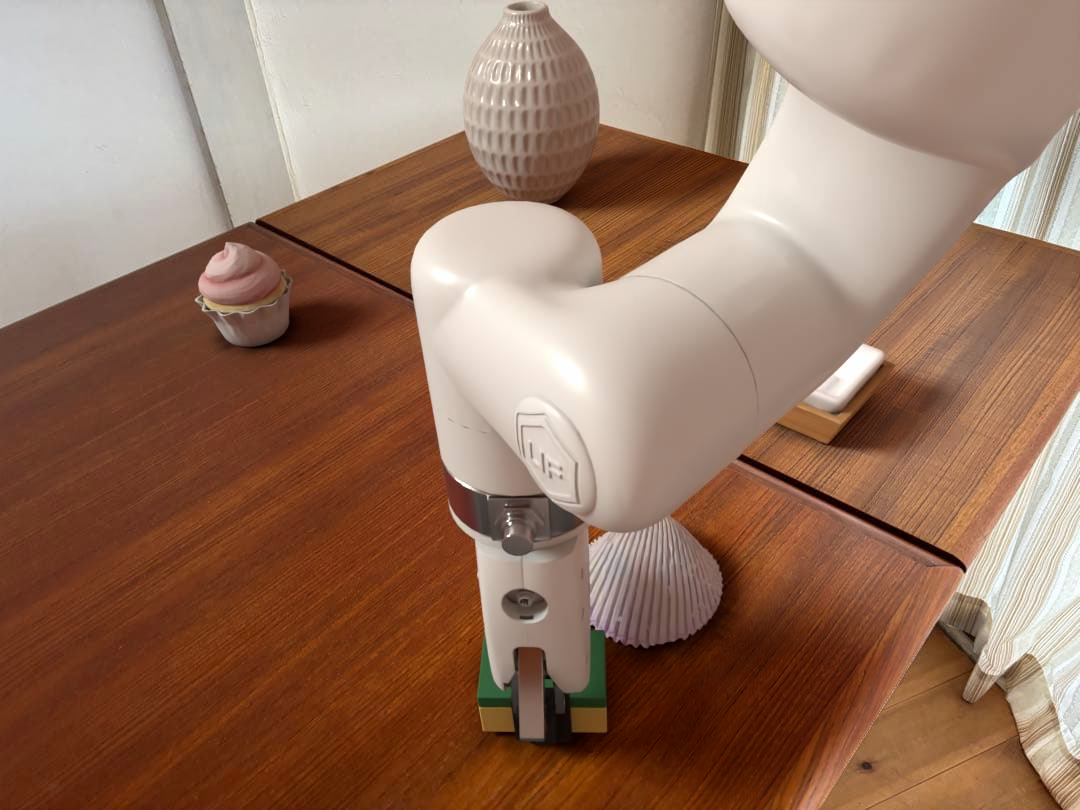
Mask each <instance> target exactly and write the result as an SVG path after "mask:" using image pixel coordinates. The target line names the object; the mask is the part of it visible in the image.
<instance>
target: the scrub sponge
mask: <svg viewBox="0 0 1080 810" xmlns="http://www.w3.org/2000/svg"><path fill="white" fill-rule="evenodd" d="M606 654H607V653H606V636H605V631H604V630H595V629H590V678H589V683H588V685H587V686H586V687H585V689H584V690H583V691H581V692H575V693H570V707H571V723H572V733H607V732H608V713H607V712H608V711H607V710H608V709H607V708H608V707H607V706H608V704H607V660H606V658H607V657H606ZM545 688H553V680H552V679H545ZM511 693H512V691H511V687H507V689H506V692H504V691H503V690H501V689H500V688H499V687H498V686H497V684H496V683H495V681H494V679H493V675H492V671H491V667H490V662H489V656H488V649H487V642H486V635H485V631H484V633H483V640H482V651H481V658H480V666H479V676H478V684H477V693H476V700H477V705H478V710H479V717H480V722H481V727H482V731H483V732H489V733H490V732H492V733H493V732H497V733H498V732H499V733H502V732H504V733H507V732H509V733H515V729H514V722H513V715H512V708H511Z"/></svg>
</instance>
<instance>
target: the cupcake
mask: <svg viewBox="0 0 1080 810" xmlns="http://www.w3.org/2000/svg"><path fill="white" fill-rule="evenodd" d="M286 275H287V273H286V270H285V269H280V267H279V265H278V263H277V262H276V261H275V260H273V258H271V256H269V255H267V254H266V253H264V252H262V251H259V250H256V249H253V248H251V247H250V246H249V245H246V244H243V243H239V242H230V241H226V242H225V245H224V249H223V250H220V251H219V252H216V253H215V255H213V256H212V257H211V259H210V260H209V261H208V263H207V265H206V267H205V270H204V271H203V272H202V273H201V275H200V277H199V278H198V284H197V285H198V286H197V287H198V291H199V293H200V295H198V296H197V297H196V298H194V301H195V302H196V303H197V304H198V305H199V306H200V307H201V312H203V313H204V314H205V315H206V316H207V317H208V318H210V319H211V320H212V321H213V322H214V324H215V325H216V327H217V328H218V330H219V332H220V333H221V335H222V336H223V338H224V339H225V340H226V341H227V342H228V343H230V344H231V345H234V346H236V347H241V348H243V347H244V348H253V347H258V346H264V345H267V344H270V343H272V342H274V341H276V340H278V339H279V338H280V337H282V336H283V335H284V334H285V333H286V331H287V330H288V327H289V325H290V294H291V289H292V285H293V278H292V277H290V276H286Z"/></svg>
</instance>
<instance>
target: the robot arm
mask: <svg viewBox="0 0 1080 810" xmlns="http://www.w3.org/2000/svg"><path fill="white" fill-rule="evenodd" d="M723 1H724V4H725V6H726V9H727V11H728V13H729V14H730V16H731V18H732V19H733V21H734V24H735V25H736V26H737V27H738V29H739V30H740V32H741V33H742V34H743V36H744V37H745V38H746V39H747V41H748V42H749V43H750V44H751V46H752V47H753V48H754V49H755V51H756V52H757V53H758V54H759V55H760V56H761V57H762V59H763V60H765V62H766V63H767V64H768V65H769V66H770V67H771V68H772V69H773V70H774V71H775V72H776V73H777V74H778V75H779V76H781V77H782V78H783V79H784V80H785V81H786V82H787V87H786V90H785V93H784V95H783V98H782V100H781V103H780V105H779V108H778V110H777V112H776V115H775V117H774V119H773V120H772V122H771V125H770V126H769V128H768V130H767V131H766V134H765V136H764V137H763V140H762V142H761V144H760V145H759V146H758V149H757V151H756V152H755V153H754V155H753V157H752V158H751V160H750V162H749V164H748V166H747V168H746V169H745V170H744V172H743V174H742V175H741V177H740V179H739V180H738V182H737V184H736V186H735V187H734V189H733V191H732V192H731V194H730V195H729V197H728V198H727V200H726V202H725V203H724V205H723V206H722V207H721V208H720V210H719V212H718V213H717V214H716V215H715V216H714V218H713V219H712V220H711V222H709V223H708V225H707V226H706V227H705V228H702V230H700V231H698V232H696V233H695V234H693V235H691V236H689V237H687V238H686V239H684V240H682V241H680V242H678V243H676V244H675V245H673V246H671V247H669V248H667V250H665V251H663V252H662V253H660V254H659V255H656V256H655V257H653V258H651V259H649V260H648V261H647V262H645V263H643V264H642V265H640V266H637V267H636V268H635V269H633V270H631V271H630V272H627V273H626V274H625V275H623V276H621V277H619V278H618V279H616V280H613V281H609V282H606V283H604V273H603V271H604V270H603V268H604V267H603V258H602V253H601V249H600V248H601V247H600V246H599V243H598V241H597V239H596V237H595V234H594V233H593V232H592V231H591V230H590V228H589V227H588V226H587V225H586V223H585V222H584V221H583V220H581V219H580V218H579V217H577V216H576V215H575V214H573V213H570V212H568V211H566V210H565V209H563V208H560V207H558V206H554V205H551V204H548V205H547V204H543V203H537V202H529V201H511V200H503V201H493V202H487V203H481V204H477V205H476V204H475V205H472V206H468V207H466V208H463V209H460V210H456V211H455V212H452V213H449V214H448V215H446V216H445V217H443V218H441V219H440V220H438V221H437V222H436V223H434V224H433V225H432V226H431V227H429V229H427V230H426V231H425V232H424V234H422V236H421V237H420V238H419V240H418V242H417V244H416V245H415V247H414V250H413V254H412V257H411V262H410V287H411V293H412V299H413V305H414V310H415V316H416V322H417V328H418V334H419V338H420V339H419V341H420V345H421V349H422V350H421V352H422V356H423V362H424V363H423V364H424V368H425V374H426V379H427V384H428V390H429V397H430V402H431V408H432V413H433V419H434V425H435V430H436V435H437V443H438V447H439V456H440V461H441V468H442V472H443V478H444V485H445V490H446V495H447V501H448V508H449V511H450V514H451V517H452V519H453V520H454V521H455V523H456V525H457V526H458V527H459V528H460V529H461V530H462V531H463V532H464V533H465V534H466V535H468V536H469V537H471V538H472V539H473V540H474V544H475V556H476V564H477V566H476V567H477V574H476V576H477V579H478V585H479V595H480V603H481V612H482V620H483V629H484V632H485V635H486V642H487V649H488V656H489V662H490V667H491V671H492V675H493V679H494V681H495V683H496V684H497V686H498V687H499V688H500V689H501V690H503V691H504V692H506V689H507V687H511V691H512V693H511V708H512V715H513V722H514V729H515V732H514V736H515V739H516V740H517V741H518V742H521V743H522V742H523V743H529V744H531V745H534V746H552V745H554V744H556V743H568V742H570V741H571V740H572V739H573V732H572V723H571V707H570V693H575V692H581V691H583V690H584V689H585V687H586V686H587V685H588V683H589V678H590V630H591V626H590V565H589V544H590V537H589V536H590V535H589V534H590V533H589V528H590V526H592V527H594V528H596V529H598V530H599V529H600V530H601V531H604V532H613V533H629V532H635V531H640V530H643V529H646V528H648V527H651V526H653V525H655V524H657V523H658V522H660V521H661V520H663V519H664V518H666V517H667V516H671V515H672V514H673V513H675V512H676V511H677V510H678V509H679V508H681V507H682V506H683V505H684V504H685V503H686V502H687V501H689V500H690V499H691V498H692V497H693V496H694V495H696V494H697V493H698V492H699V491H701V489H703V488H704V487H705V486H706V485H707V484H708V483H709V482H711V481H712V480H713V479H714V478H715V477H717V476H718V475H719V474H720V473H722V472H723V471H724V470H725V469H726V468H727V467H728V466H729V465H731V464H732V463H733V462H734V461H736V460H737V459H738V458H739V457H740V456H741V455H742V454H743V453H744V452H745V450H746V449H747V448H748V447H749V446H750V445H752V443H754V442H755V441H757V440H758V439H759V438H760V437H761V436H762V435H763V434H765V433H766V432H767V431H768V430H769V429H770V428H772V427H773V426H774V425H775V424H777V423H776V422H777V421H779V420H780V419H781V418H782V417H783V416H785V415H786V414H787V413H788V412H789V411H791V410H792V409H793V408H794V407H795V406H797V405H798V404H799V403H800V402H802V401H803V400H804V399H805V398H807V397H808V396H809V395H810V394H811V393H813V392H814V391H815V390H816V389H817V388H819V387H820V386H821V385H822V384H823V383H824V382H825V381H826V380H827V379H828V378H830V377H831V376H832V375H833V374H834V373H835V372H836V371H837V370H838V369H839V368H840V367H841V366H842V365H843V364H844V363H845V362H846V361H847V360H848V359H849V358H850V357H851V356H852V355H853V354H854V353H855V352H856V351H857V349H858V348H859V347H860V346H861V345H862V344H863V343H864V344H865V342H866V341H867V340H868V339H869V338H870V337H871V335H872V334H873V333H874V332H875V331H876V330H877V329H878V328H880V326H881V325H882V324H883V323H884V321H885V320H886V319H887V318H888V317H889V316H890V315H891V314H892V313H893V312H894V311H895V310H896V308H897V307H899V305H900V304H901V303H902V302H903V301H904V300H905V299H906V297H907V296H908V295H909V294H911V292H912V291H913V290H914V289H915V288H916V287H917V286H918V285H919V283H920V282H922V280H923V279H924V278H925V277H926V276H927V275H928V274H929V273H930V272H931V271H932V269H934V268H935V266H936V265H937V264H938V263H939V262H940V261H941V260H942V259H943V257H944V256H946V255H947V253H948V252H949V251H950V250H951V248H952V247H953V246H954V245H955V244H956V243H957V242H958V241H959V239H961V238H962V236H963V235H964V234H965V233H966V232H967V230H968V229H969V228H970V227H971V226H972V225H973V223H974V222H975V221H976V220H977V219H978V217H979V216H980V215H981V214H982V213H983V211H985V210H986V208H987V207H988V206H989V205H990V203H991V202H992V201H993V200H994V199H995V198H996V196H997V195H998V194H999V193H1000V192H1001V190H1002V189H1003V188H1004V187H1005V186H1007V185H1008V184H1009V183H1010V182H1011V181H1012V180H1013V179H1014V178H1016V177H1017V176H1018V175H1020V174H1021V173H1023V172H1024V171H1026V170H1027V169H1029V168H1030V167H1031V166H1032V165H1033V164H1034V163H1036V161H1037V160H1038V159H1039V158H1040V157H1041V155H1042V154H1043V152H1044V151H1045V150H1046V148H1047V147H1048V146H1049V145H1050V143H1051V142H1052V140H1053V139H1054V137H1055V136H1056V135H1057V134H1058V133H1059V131H1061V130H1062V129H1063V127H1064V126H1065V125H1066V124H1067V123H1068V122H1069V120H1070V119H1072V117H1073V116H1074V115H1075V114H1076V113H1077V112H1078V110H1079V109H1080V0H723ZM545 679H552V680H553V688H545Z"/></svg>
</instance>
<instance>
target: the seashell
mask: <svg viewBox="0 0 1080 810" xmlns="http://www.w3.org/2000/svg"><path fill="white" fill-rule="evenodd" d="M589 565H590V627H591V626H594V630H604V631H605V639H607V638H609V637H610V638H611V639H612V640H613V642H615V643H618V642H619V641H620V643H622V644H623V646H629V645H632V646H633V647H634V648H638V647H639V646H640V645H641V646H642V647H643V648H644V649H649V647H651V646H652V647H653V646H656V645H664V644H665V643H672V642H675V641H677V640H679V639H682V640H683V641H685V640H687V638H688V637H689V636H690V635H691V636H693V635H695V634H696V632H697V630H699V631H701V629H702V628H703V626H706V625H707V623H708V622H709V620H712V617H713V615H714V614H715V613H716V611H717V610H718V607H719V606H720V602H721V596H722V595H723V591H722V590H723V587H724V584H723V577H722V571H720V564H718V562H717V559H715V558H714V555H713V553H710V551H709V549H708V548H705V547H703V545H702V544H700V542H699V541H698V540H697V539H696V537H695V536H693V534H692V533H690V531H689V530H688V529H687V528H686V527H685V526H683V525H682V524H681V523H680V522H679V521H678V520H676V519H675V518H674V517H672V516H671V515H669V516H667V517H666V518H664V519H663V520H661V521H660V522H658V523H657V524H655V525H653V526H651V527H648V528H646V529H643V530H640V531H635V532H629V533H613V532H608V531H605V533H603V534H602V536H600V535H599V536H598V538H597V539H596V538H595V539H593V541H591V542H590V543H589Z"/></svg>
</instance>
